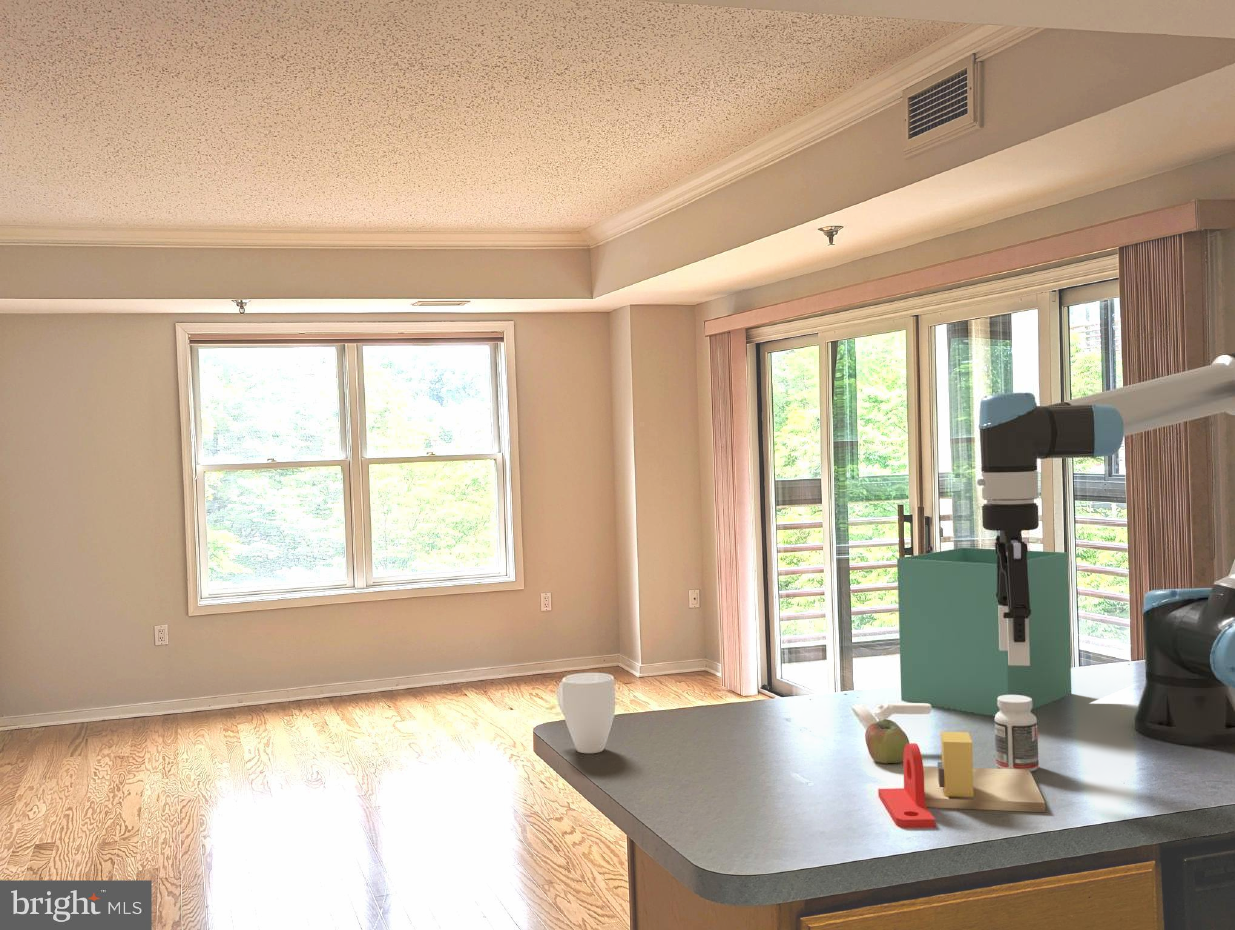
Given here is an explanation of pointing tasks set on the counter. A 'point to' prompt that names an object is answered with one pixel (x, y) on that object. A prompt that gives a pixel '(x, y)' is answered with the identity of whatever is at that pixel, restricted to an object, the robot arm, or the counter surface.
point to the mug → (588, 709)
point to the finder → (956, 764)
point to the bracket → (909, 794)
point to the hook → (888, 711)
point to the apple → (886, 741)
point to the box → (979, 631)
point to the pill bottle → (1016, 733)
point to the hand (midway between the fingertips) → (1014, 657)
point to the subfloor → (988, 791)
